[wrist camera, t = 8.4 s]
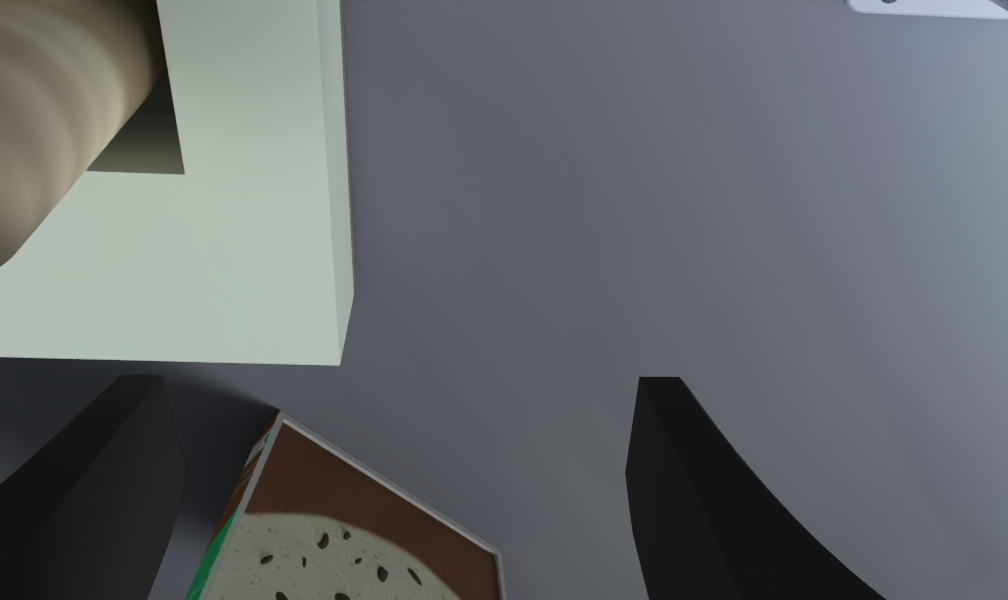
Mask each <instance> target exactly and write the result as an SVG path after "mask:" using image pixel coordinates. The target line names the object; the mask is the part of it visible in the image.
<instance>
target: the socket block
mask: <svg viewBox="0 0 1008 600" xmlns="http://www.w3.org/2000/svg"><path fill="white" fill-rule="evenodd" d="M157 6H158V12H159V19H160V25H161V31H162V37H163V43H164V49H165V55H166V61H167V67H168V73H167V75H166V76H165V77H164V78H163V79H162V80H161V82H160V83H159V84H158V85H157V86H156V88H155V89H154V90H153V91H152V92H151V94H150V95H149V96H148V97H147V98H146V99H145V101H144V102H143V103H142V104H141V105H140V107H139V108H138V109H137V110H136V111H135V113H134V114H133V115H132V116H131V117H130V118H129V120H128V121H127V122H126V123H125V124H124V126H123V127H122V128H121V129H120V130H119V132H118V133H117V134H116V135H115V136H114V137H113V139H112V140H111V141H110V142H109V143H108V145H107V146H106V147H105V148H104V149H103V150H102V152H101V153H100V154H99V155H98V156H97V158H96V159H95V160H94V161H93V162H92V164H91V165H90V166H89V167H88V168H87V169H86V171H85V172H84V173H83V174H82V175H81V177H80V178H79V179H78V180H77V181H76V183H75V184H74V185H73V186H72V187H71V188H70V190H69V191H68V192H67V193H66V194H65V196H64V197H63V198H62V199H61V200H60V202H59V203H58V204H57V205H56V206H55V207H54V209H53V210H52V211H51V212H50V213H49V215H48V216H47V217H46V218H45V219H44V221H43V222H42V223H41V224H40V225H39V226H38V228H37V229H36V230H35V231H34V232H33V234H32V235H31V236H30V237H29V238H28V240H27V241H26V242H25V243H24V244H23V245H22V247H21V248H20V249H19V250H18V251H17V252H16V254H15V255H14V256H13V257H12V258H11V259H10V260H9V261H7V262H6V263H5V264H3V265H2V266H0V357H21V358H61V359H101V360H141V361H181V362H221V363H262V364H302V365H340V362H341V357H342V352H343V347H344V342H345V337H346V332H347V327H348V322H349V317H350V312H351V307H352V302H353V296H354V291H355V286H356V276H355V255H354V234H353V213H352V191H351V170H350V149H349V128H348V107H347V86H346V64H345V43H344V22H343V1H342V0H157Z"/></svg>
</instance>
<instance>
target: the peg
mask: <svg viewBox="0 0 1008 600" xmlns="http://www.w3.org/2000/svg"><path fill="white" fill-rule="evenodd" d="M167 73H168V67H167V61H166V55H165V49H164V43H163V37H162V31H161V25H160V19H159V12H158V6H157V0H0V266H2V265H3V264H5V263H6V262H7V261H9V260H10V259H11V258H12V257H13V256H14V255H15V254H16V252H17V251H18V250H19V249H20V248H21V247H22V245H23V244H24V243H25V242H26V241H27V240H28V238H29V237H30V236H31V235H32V234H33V232H34V231H35V230H36V229H37V228H38V226H39V225H40V224H41V223H42V222H43V221H44V219H45V218H46V217H47V216H48V215H49V213H50V212H51V211H52V210H53V209H54V207H55V206H56V205H57V204H58V203H59V202H60V200H61V199H62V198H63V197H64V196H65V194H66V193H67V192H68V191H69V190H70V188H71V187H72V186H73V185H74V184H75V183H76V181H77V180H78V179H79V178H80V177H81V175H82V174H83V173H84V172H85V171H86V169H87V168H88V167H89V166H90V165H91V164H92V162H93V161H94V160H95V159H96V158H97V156H98V155H99V154H100V153H101V152H102V150H103V149H104V148H105V147H106V146H107V145H108V143H109V142H110V141H111V140H112V139H113V137H114V136H115V135H116V134H117V133H118V132H119V130H120V129H121V128H122V127H123V126H124V124H125V123H126V122H127V121H128V120H129V118H130V117H131V116H132V115H133V114H134V113H135V111H136V110H137V109H138V108H139V107H140V105H141V104H142V103H143V102H144V101H145V99H146V98H147V97H148V96H149V95H150V94H151V92H152V91H153V90H154V89H155V88H156V86H157V85H158V84H159V83H160V82H161V80H162V79H163V78H164V77H165V76H166V75H167Z"/></svg>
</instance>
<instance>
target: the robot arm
mask: <svg viewBox="0 0 1008 600" xmlns="http://www.w3.org/2000/svg"><path fill="white" fill-rule="evenodd" d="M843 2H845V3H846V4H847V5H848V6H849V7H850V8H851V9H853V10H854V11H857V12H861V13H880V14H900V15H921V16H942V17H962V18H983V19H1004V20H1008V0H843ZM625 474H626V483H627V492H628V500H629V508H630V516H631V523H632V531H633V536H634V540H635V544H636V549H637V553H638V557H639V561H640V565H641V569H642V573H643V577H644V581H645V585H646V589H647V593H648V597H649V600H886V599H885V598H884V597H882V596H881V595H880V594H878V593H877V592H876V591H875V590H873V589H872V588H871V587H869V586H868V585H867V584H866V583H865V582H863V581H862V580H861V579H860V578H859V577H857V576H856V575H855V574H854V573H853V572H852V571H850V570H849V569H848V568H847V567H846V566H845V565H844V564H842V563H841V562H840V561H839V560H838V559H837V558H836V557H835V556H834V555H833V554H831V553H830V552H829V551H828V550H827V549H826V548H825V547H824V546H823V545H822V544H821V543H820V542H818V541H817V540H816V539H815V538H814V537H813V536H812V535H811V534H810V533H809V532H808V531H807V530H806V529H805V528H804V527H803V526H802V525H801V524H800V523H799V522H798V521H797V520H796V519H795V517H794V516H793V515H792V514H791V513H790V512H789V511H788V510H787V509H786V508H785V507H784V506H783V505H782V504H781V503H780V501H779V500H778V499H777V498H776V497H775V496H774V495H773V494H772V493H771V492H770V490H769V489H768V488H767V487H766V486H765V485H764V484H763V483H762V481H761V480H760V479H759V478H758V477H757V476H756V474H755V473H754V472H753V471H752V470H751V468H750V467H749V466H748V465H747V464H746V462H745V461H744V460H743V459H742V458H741V456H740V455H739V454H738V453H737V452H736V450H735V449H734V448H733V447H732V445H731V444H730V443H729V442H728V440H727V439H726V438H725V437H724V435H723V434H722V433H721V431H720V430H719V429H718V427H717V426H716V425H715V423H714V422H713V421H712V420H711V418H710V417H709V416H708V414H707V413H706V412H705V410H704V409H703V407H702V406H701V405H700V403H699V402H698V401H697V399H696V398H695V396H694V395H693V394H692V392H691V391H690V389H689V388H688V387H687V385H686V384H685V383H684V382H683V381H682V380H681V379H680V377H639V384H638V390H637V397H636V404H635V411H634V417H633V424H632V431H631V438H630V445H629V451H628V458H627V465H626V472H625ZM185 477H186V470H185V466H184V462H183V458H182V454H181V450H180V445H179V441H178V437H177V433H176V429H175V425H174V421H173V417H172V413H171V409H170V405H169V401H168V397H167V393H166V389H165V385H164V381H163V376H162V375H121V376H120V377H119V378H118V379H116V380H115V381H114V382H113V383H112V384H111V385H110V386H109V387H108V388H106V389H105V390H104V391H103V392H102V393H101V394H100V395H99V396H98V397H97V398H96V399H95V400H94V401H92V402H91V403H90V404H89V405H88V406H87V407H86V408H85V409H84V410H83V411H82V412H81V413H80V414H78V415H77V416H76V417H75V418H74V419H73V420H72V421H71V422H70V423H69V424H68V425H67V426H66V427H64V428H63V429H62V430H61V431H60V432H59V433H58V434H57V435H56V436H55V437H54V438H53V439H51V440H50V441H49V442H48V443H47V444H46V445H45V446H44V447H43V448H41V449H40V450H39V451H38V452H37V453H36V454H35V455H34V456H32V457H31V458H30V459H29V460H28V461H27V462H26V463H25V464H24V465H22V466H21V467H20V468H19V469H18V470H17V471H16V472H14V473H13V474H12V475H11V476H10V477H8V478H7V479H6V480H5V481H3V482H2V483H1V484H0V600H147V598H148V596H149V593H150V591H151V588H152V585H153V583H154V580H155V578H156V575H157V572H158V570H159V567H160V565H161V562H162V559H163V557H164V554H165V552H166V549H167V546H168V543H169V541H170V538H171V535H172V532H173V528H174V524H175V520H176V516H177V512H178V508H179V504H180V499H181V495H182V491H183V486H184V482H185Z"/></svg>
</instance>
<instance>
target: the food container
mask: <svg viewBox="0 0 1008 600" xmlns="http://www.w3.org/2000/svg"><path fill="white" fill-rule="evenodd" d="M185 600H507V593H506V585H505V576H504V568H503V559H502V551H501V550H499V549H498V548H496V547H494V546H493V545H491V544H490V543H488V542H487V541H485V540H484V539H482V538H480V537H479V536H477V535H476V534H474V533H473V532H471V531H469V530H468V529H466V528H465V527H463V526H462V525H460V524H458V523H457V522H455V521H454V520H452V519H451V518H449V517H447V516H446V515H444V514H443V513H441V512H440V511H438V510H436V509H435V508H433V507H432V506H430V505H429V504H427V503H426V502H424V501H422V500H421V499H419V498H418V497H416V496H415V495H413V494H411V493H410V492H408V491H407V490H405V489H404V488H402V487H400V486H399V485H397V484H396V483H394V482H393V481H391V480H389V479H388V478H386V477H385V476H383V475H382V474H380V473H378V472H377V471H375V470H374V469H372V468H371V467H369V466H368V465H366V464H364V463H363V462H361V461H360V460H358V459H357V458H355V457H353V456H352V455H350V454H349V453H347V452H346V451H344V450H342V449H341V448H339V447H338V446H336V445H335V444H333V443H331V442H330V441H328V440H327V439H325V438H324V437H322V436H320V435H319V434H317V433H316V432H314V431H313V430H311V429H310V428H308V427H306V426H305V425H303V424H302V423H300V422H299V421H297V420H295V419H294V418H292V417H291V416H289V415H288V414H286V413H284V412H283V411H281V410H279V411H278V413H277V414H276V415H275V416H274V417H273V418H272V419H271V420H270V421H269V422H268V424H267V425H266V426H265V427H264V428H263V429H262V430H261V431H260V433H259V435H258V437H257V439H256V442H255V444H254V446H253V448H252V450H251V453H250V455H249V457H248V459H247V462H246V464H245V466H244V468H243V471H242V473H241V475H240V477H239V479H238V482H237V484H236V486H235V488H234V491H233V493H232V495H231V497H230V499H229V502H228V504H227V506H226V508H225V511H224V513H223V515H222V517H221V519H220V522H219V524H218V526H217V528H216V531H215V533H214V535H213V537H212V539H211V542H210V544H209V546H208V548H207V551H206V553H205V555H204V557H203V560H202V562H201V564H200V566H199V568H198V571H197V573H196V575H195V577H194V580H193V582H192V584H191V586H190V588H189V591H188V593H187V595H186V597H185Z"/></svg>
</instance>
